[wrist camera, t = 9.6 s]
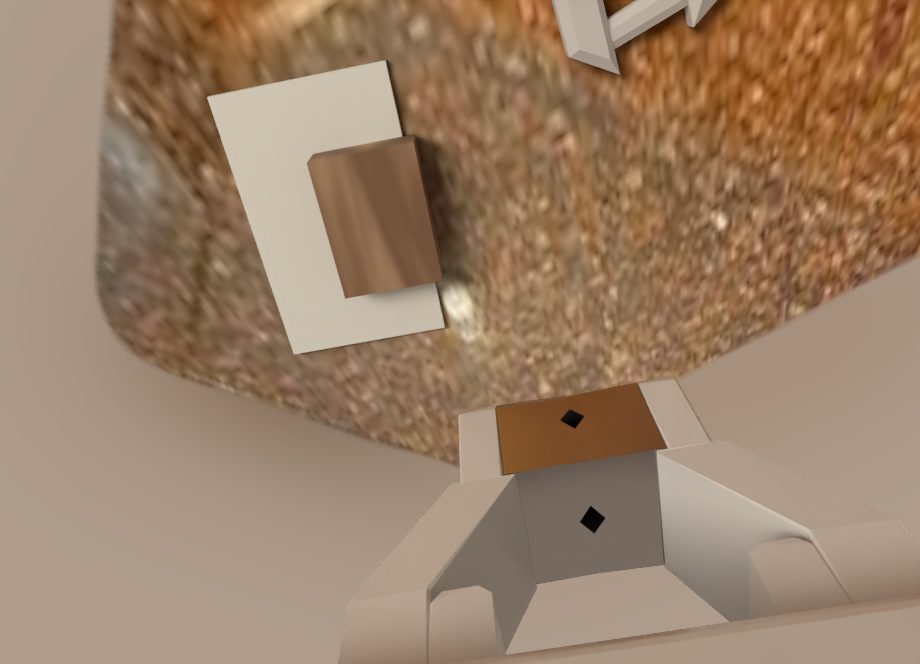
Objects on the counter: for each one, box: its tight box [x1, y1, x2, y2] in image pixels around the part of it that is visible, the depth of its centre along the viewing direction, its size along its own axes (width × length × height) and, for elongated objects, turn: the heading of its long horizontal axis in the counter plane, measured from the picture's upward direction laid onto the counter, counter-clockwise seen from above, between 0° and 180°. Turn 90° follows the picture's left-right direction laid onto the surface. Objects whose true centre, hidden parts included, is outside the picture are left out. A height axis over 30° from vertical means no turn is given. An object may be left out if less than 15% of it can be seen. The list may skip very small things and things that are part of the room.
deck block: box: [307, 134, 443, 299], centre depth 45 cm, size 2×9×6 cm
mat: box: [207, 60, 445, 354], centre depth 47 cm, size 11×18×1 cm, turn 11°
